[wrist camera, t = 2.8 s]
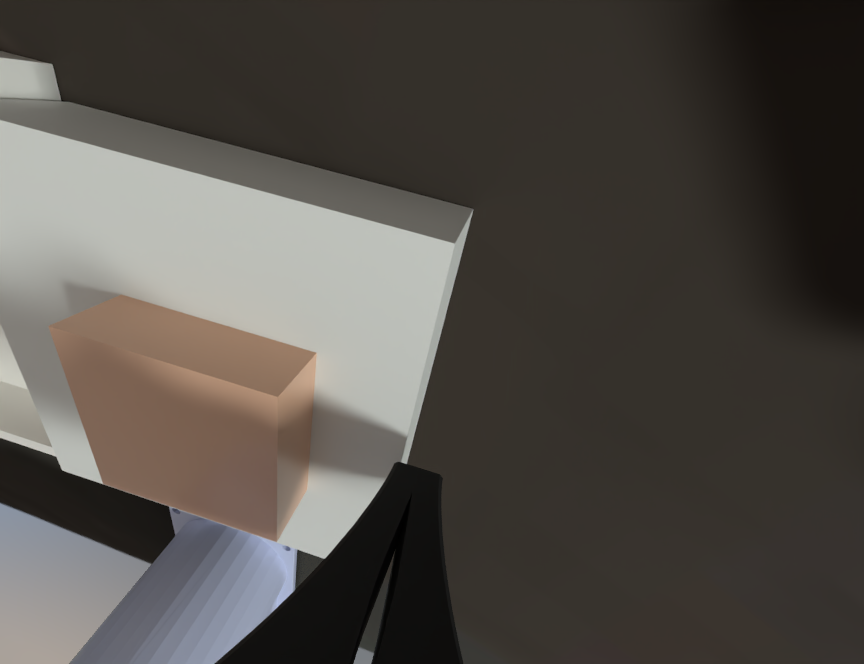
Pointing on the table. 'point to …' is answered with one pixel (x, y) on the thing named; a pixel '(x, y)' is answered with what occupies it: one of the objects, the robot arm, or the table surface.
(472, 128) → the table surface
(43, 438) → the tray
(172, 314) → the tile
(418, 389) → the board
